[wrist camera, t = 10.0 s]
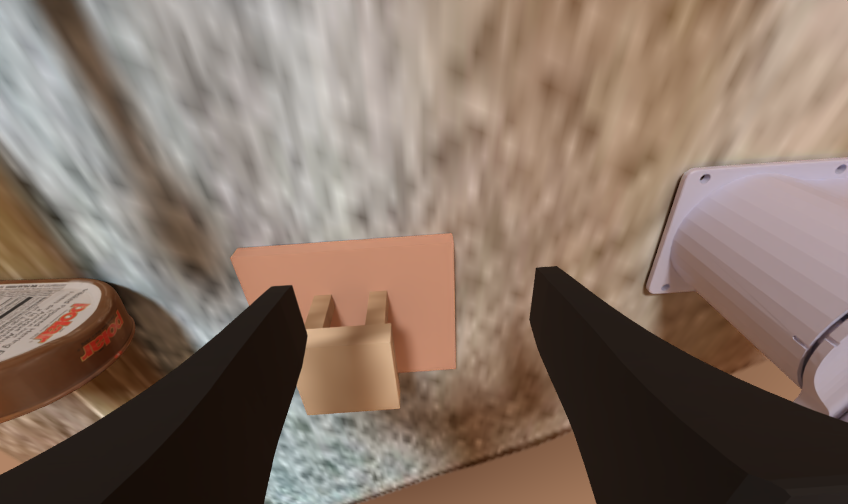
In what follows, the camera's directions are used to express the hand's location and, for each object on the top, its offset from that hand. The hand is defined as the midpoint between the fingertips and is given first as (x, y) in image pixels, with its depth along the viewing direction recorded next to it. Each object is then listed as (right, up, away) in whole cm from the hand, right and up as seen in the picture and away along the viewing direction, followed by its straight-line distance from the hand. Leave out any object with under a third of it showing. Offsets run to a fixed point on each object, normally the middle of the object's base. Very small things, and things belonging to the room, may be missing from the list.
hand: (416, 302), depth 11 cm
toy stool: (-4, -3, +11) cm, 12 cm away
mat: (-4, -2, +12) cm, 13 cm away
